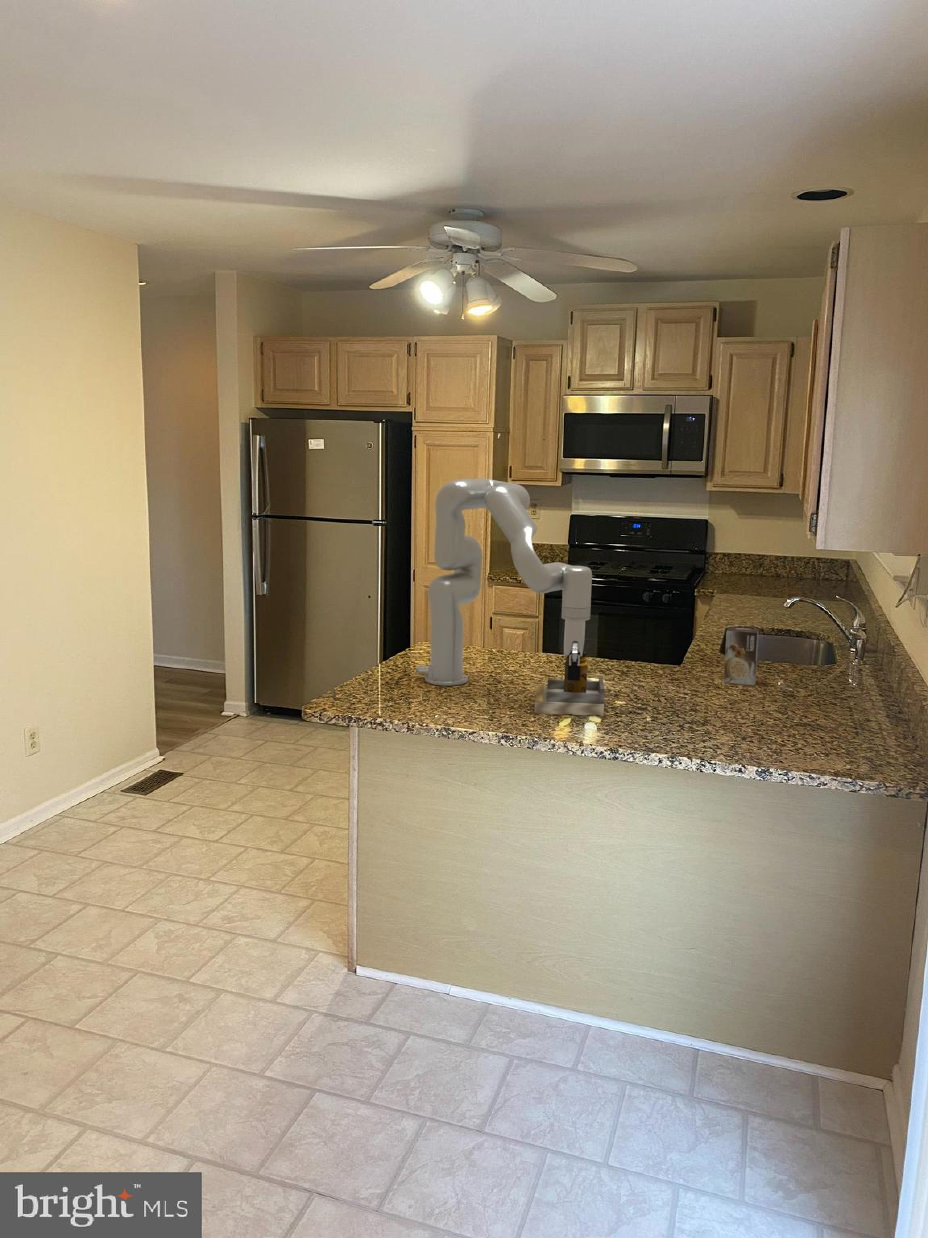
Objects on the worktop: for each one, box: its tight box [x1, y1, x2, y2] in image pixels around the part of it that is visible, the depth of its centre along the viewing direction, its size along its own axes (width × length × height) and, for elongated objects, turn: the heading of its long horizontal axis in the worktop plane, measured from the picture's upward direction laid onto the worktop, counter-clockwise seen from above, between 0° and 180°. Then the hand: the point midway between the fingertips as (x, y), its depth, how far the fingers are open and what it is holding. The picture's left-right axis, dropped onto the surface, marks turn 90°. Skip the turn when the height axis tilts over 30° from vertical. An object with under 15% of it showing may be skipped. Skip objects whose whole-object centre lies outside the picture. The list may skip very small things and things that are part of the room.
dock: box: [533, 675, 605, 717], centre depth 250 cm, size 18×16×7 cm
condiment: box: [563, 650, 588, 693], centre depth 249 cm, size 7×8×12 cm
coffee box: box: [723, 626, 760, 686], centre depth 277 cm, size 9×6×16 cm
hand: (573, 675), depth 249 cm, fingers open, 9 cm apart
